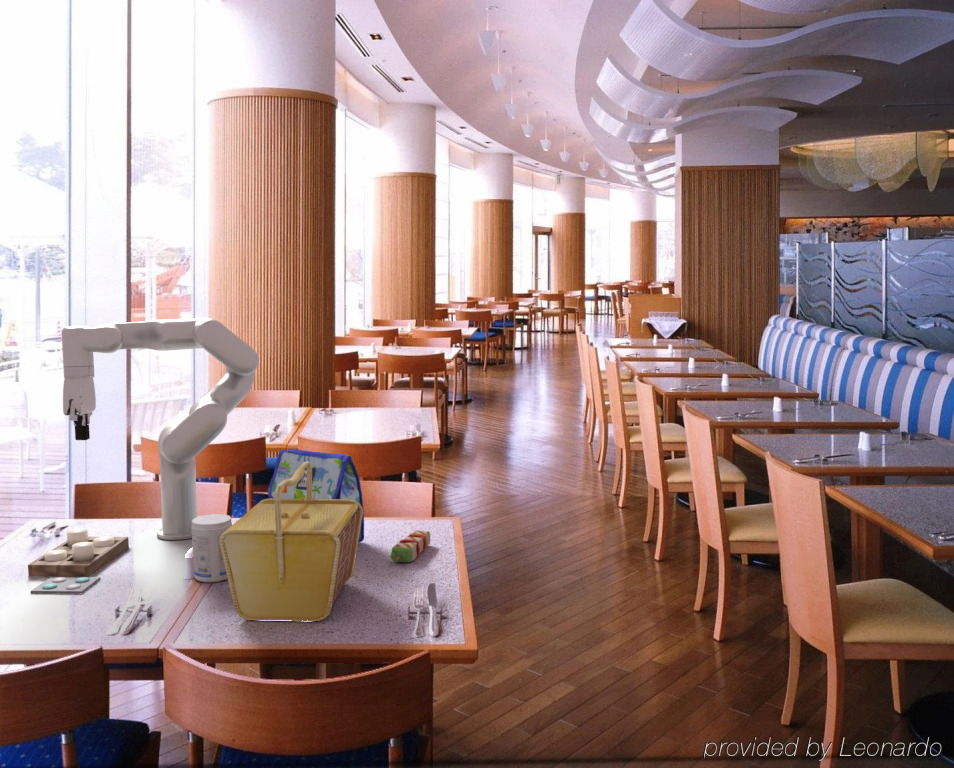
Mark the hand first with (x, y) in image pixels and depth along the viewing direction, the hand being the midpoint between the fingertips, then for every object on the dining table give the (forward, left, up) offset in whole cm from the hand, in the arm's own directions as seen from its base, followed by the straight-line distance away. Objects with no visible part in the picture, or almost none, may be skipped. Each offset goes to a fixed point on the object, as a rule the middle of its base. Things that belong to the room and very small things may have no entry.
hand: (82, 439), depth 247 cm
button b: (-1, +9, -27) cm, 28 cm away
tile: (-10, +34, -29) cm, 45 cm away
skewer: (-89, +8, -30) cm, 94 cm away
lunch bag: (-63, -1, -29) cm, 70 cm away
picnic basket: (-67, +42, -29) cm, 84 cm away
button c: (-8, +21, -27) cm, 35 cm away
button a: (-9, +9, -29) cm, 31 cm away
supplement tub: (-43, +26, -29) cm, 58 cm away
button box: (-5, +15, -29) cm, 33 cm away
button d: (-2, +21, -29) cm, 36 cm away
